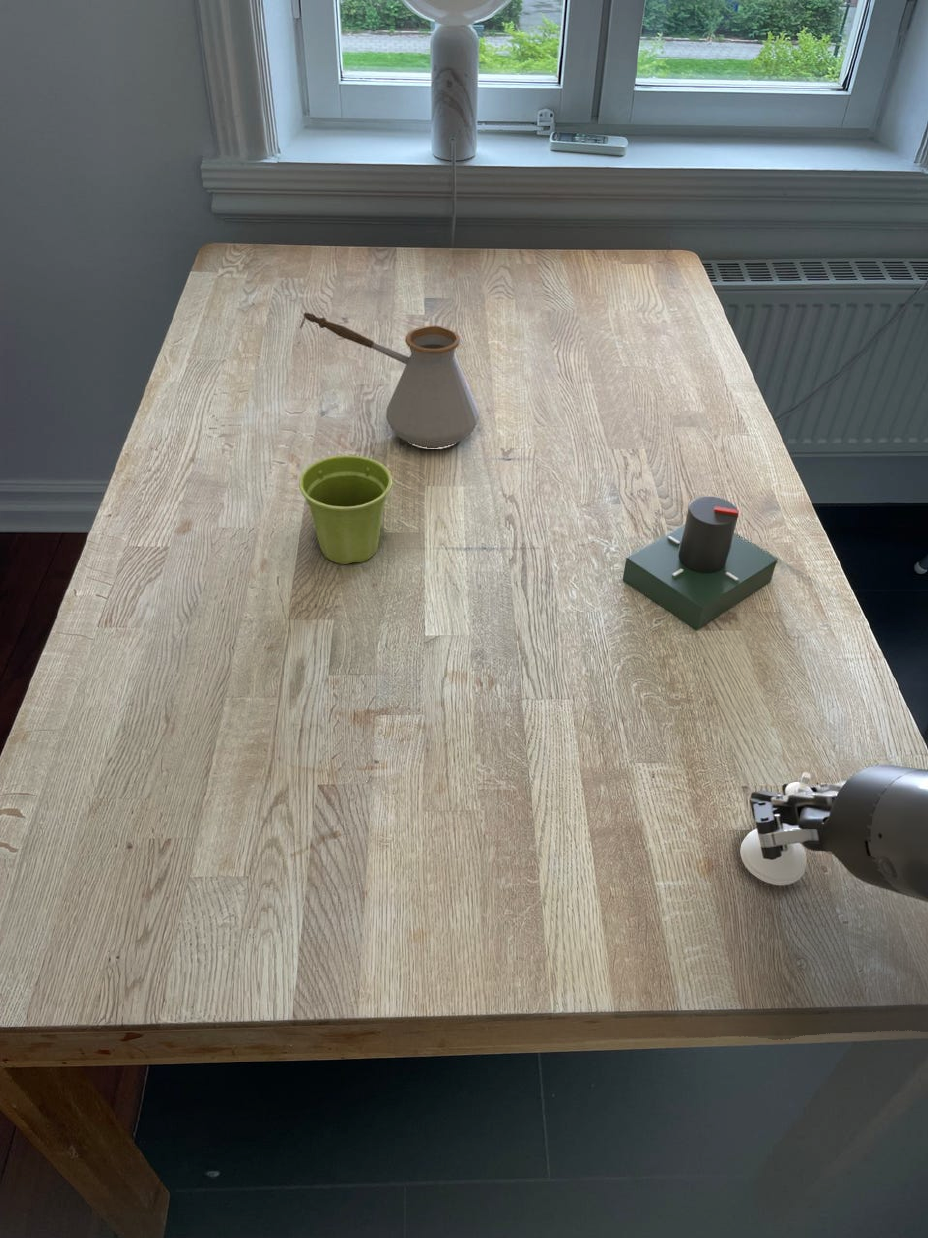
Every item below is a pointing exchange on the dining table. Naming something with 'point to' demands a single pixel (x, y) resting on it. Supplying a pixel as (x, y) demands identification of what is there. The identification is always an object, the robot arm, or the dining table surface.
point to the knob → (708, 534)
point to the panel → (697, 578)
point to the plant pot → (346, 505)
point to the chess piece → (791, 860)
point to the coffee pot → (424, 386)
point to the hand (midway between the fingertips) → (772, 801)
